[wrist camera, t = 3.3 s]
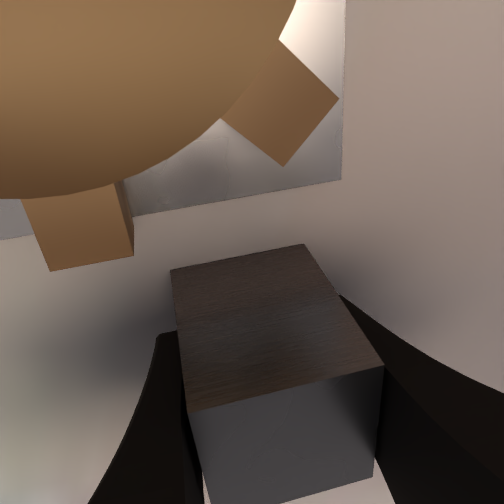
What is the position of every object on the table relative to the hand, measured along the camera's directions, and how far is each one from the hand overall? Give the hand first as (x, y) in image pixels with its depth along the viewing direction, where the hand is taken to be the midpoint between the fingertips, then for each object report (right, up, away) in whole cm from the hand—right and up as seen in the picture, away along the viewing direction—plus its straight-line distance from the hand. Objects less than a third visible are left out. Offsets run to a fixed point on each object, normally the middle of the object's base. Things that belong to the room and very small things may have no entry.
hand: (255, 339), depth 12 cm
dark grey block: (0, +1, +1) cm, 1 cm away
